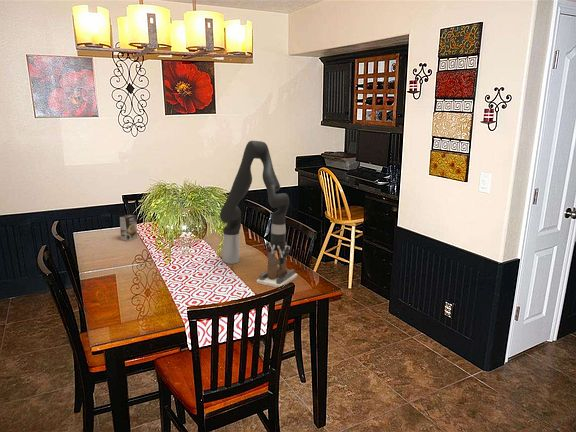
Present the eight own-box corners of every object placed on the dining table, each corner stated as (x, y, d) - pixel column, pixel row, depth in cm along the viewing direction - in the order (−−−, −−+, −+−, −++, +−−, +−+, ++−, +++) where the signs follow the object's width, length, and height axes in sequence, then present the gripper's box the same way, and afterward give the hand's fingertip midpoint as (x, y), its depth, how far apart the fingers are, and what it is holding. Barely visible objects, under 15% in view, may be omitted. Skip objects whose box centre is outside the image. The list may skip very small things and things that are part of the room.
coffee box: (127, 241, 291) (126, 217, 287) (120, 240, 293) (119, 216, 289) (137, 238, 299) (136, 215, 295) (130, 236, 301) (129, 214, 297)
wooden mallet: (267, 277, 229) (268, 244, 225) (283, 273, 236) (284, 241, 231) (271, 279, 226) (272, 246, 222) (287, 275, 233) (288, 242, 229)
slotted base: (256, 282, 226) (256, 275, 226) (274, 271, 243) (274, 264, 242) (280, 288, 220) (280, 280, 219) (297, 276, 237) (297, 269, 236)
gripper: (294, 232, 226) (293, 263, 230) (269, 228, 232) (269, 258, 236) (287, 235, 219) (286, 267, 223) (262, 231, 225) (262, 262, 229)
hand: (277, 263), depth 230 cm, fingers closed on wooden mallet, 4 cm apart
